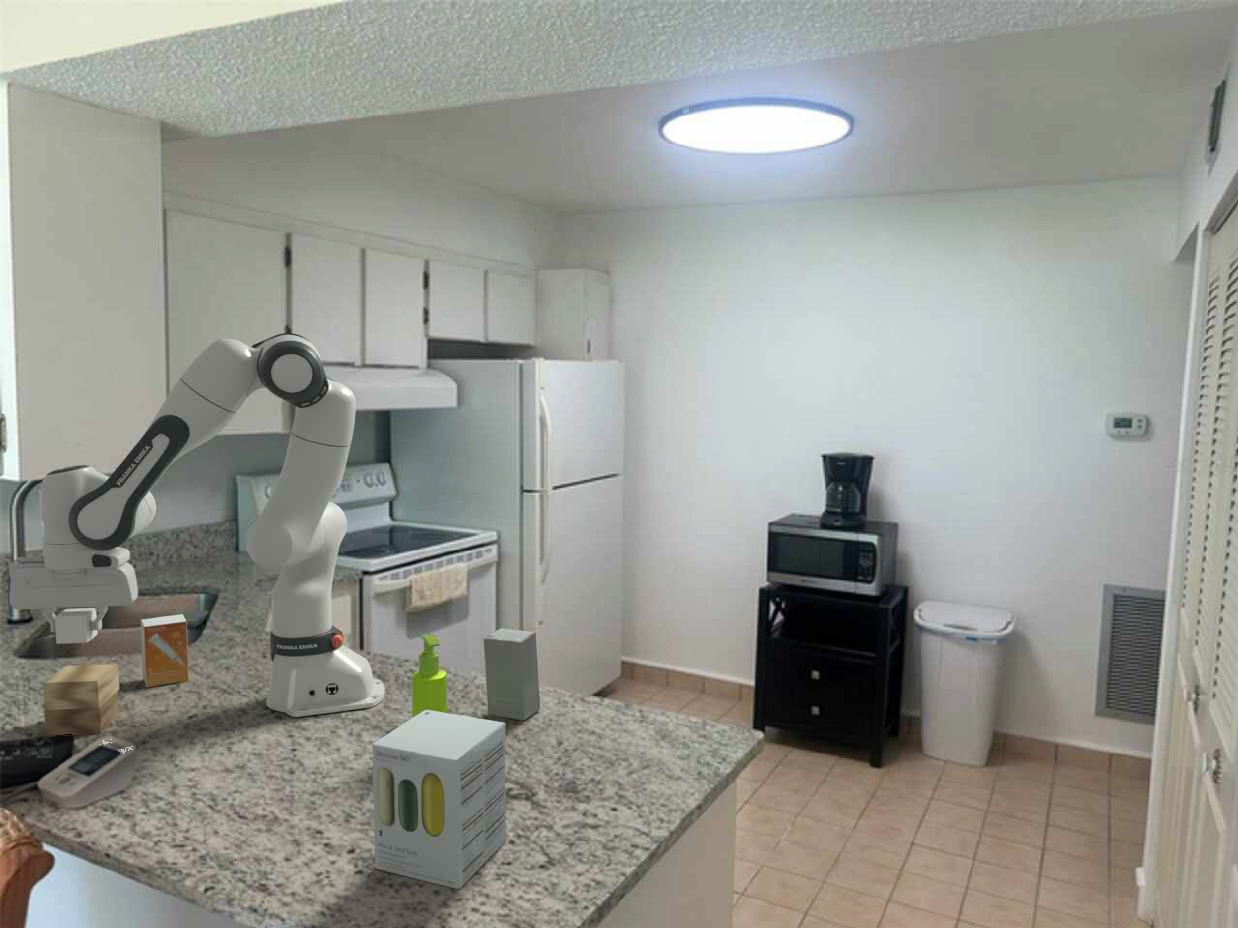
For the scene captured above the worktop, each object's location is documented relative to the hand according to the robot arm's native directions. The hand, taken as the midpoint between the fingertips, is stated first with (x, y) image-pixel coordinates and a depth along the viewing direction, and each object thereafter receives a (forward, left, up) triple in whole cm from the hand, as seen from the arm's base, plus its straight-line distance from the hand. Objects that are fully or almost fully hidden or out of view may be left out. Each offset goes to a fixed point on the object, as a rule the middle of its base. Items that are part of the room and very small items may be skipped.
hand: (76, 630), depth 163 cm
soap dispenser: (-63, +21, -18) cm, 69 cm away
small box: (-8, -22, -18) cm, 30 cm away
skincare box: (-78, +8, -18) cm, 81 cm away
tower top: (0, 0, -13) cm, 13 cm away
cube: (0, 0, -2) cm, 2 cm away
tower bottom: (0, 0, -18) cm, 18 cm away
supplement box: (-65, +56, -18) cm, 88 cm away
